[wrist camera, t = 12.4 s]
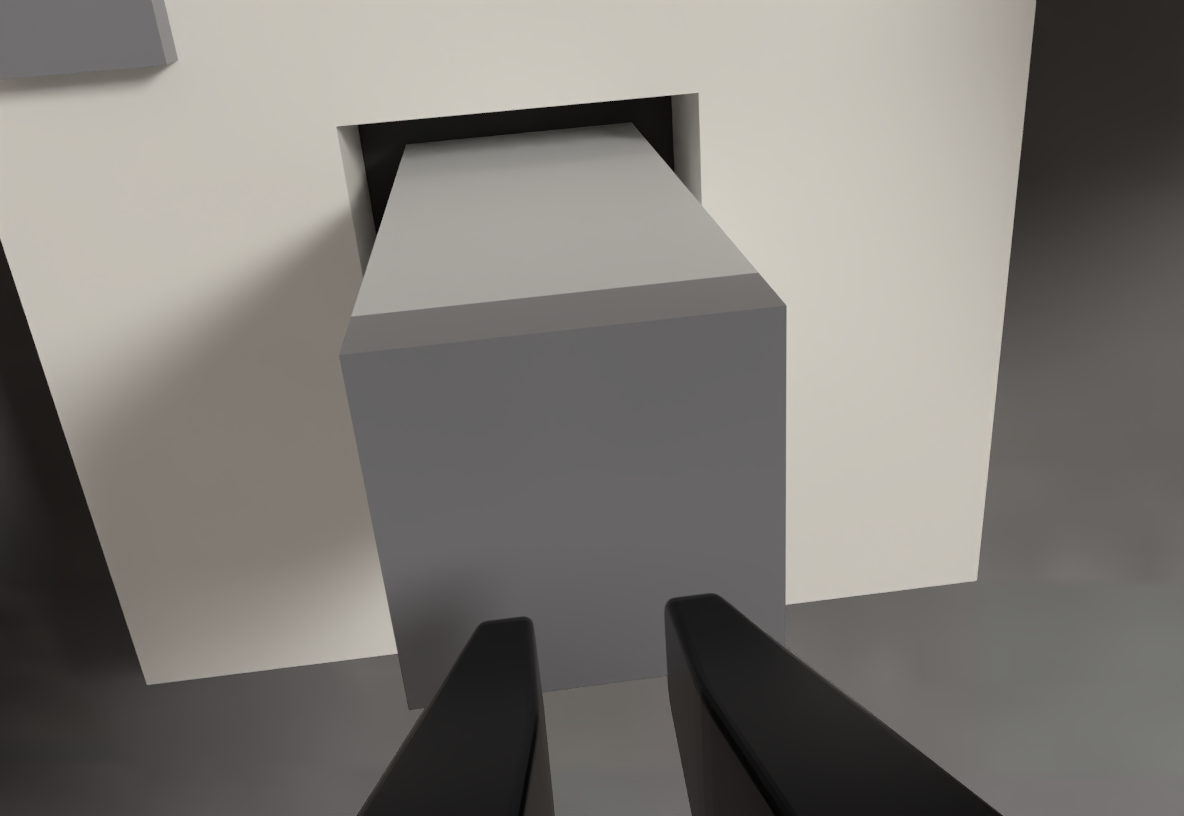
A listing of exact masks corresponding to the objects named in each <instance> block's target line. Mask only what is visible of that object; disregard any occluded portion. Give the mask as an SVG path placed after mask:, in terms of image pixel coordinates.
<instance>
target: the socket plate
mask: <svg viewBox="0 0 1184 816" xmlns="http://www.w3.org/2000/svg"><path fill="white" fill-rule="evenodd" d="M1035 8H1036V0H0V239H1V242H2V245H3V248H4V251H5V254H6V258H7V261H8V264H9V267H10V270H11V273H12V276H13V279H14V282H15V285H16V288H17V291H18V294H19V297H20V300H21V303H22V306H23V309H24V312H25V315H26V318H27V321H28V324H29V328H30V331H31V334H32V337H33V340H34V343H35V346H36V349H37V352H38V355H39V358H40V361H41V364H42V367H43V370H44V373H45V376H46V379H47V382H48V385H49V388H50V391H51V395H52V398H53V401H54V404H55V407H56V410H57V413H58V416H59V419H60V422H61V425H62V428H63V431H64V434H65V437H66V440H67V443H68V446H69V449H70V452H71V455H72V458H73V461H74V465H75V468H76V471H77V474H78V477H79V480H80V483H81V486H82V489H83V492H84V495H85V498H86V501H87V504H88V507H89V510H90V513H91V516H92V519H93V522H94V525H95V528H96V532H97V535H98V538H99V541H100V544H101V547H102V550H103V553H104V556H105V559H106V562H107V565H108V568H109V571H110V574H111V577H112V580H113V583H114V586H115V589H116V592H117V595H118V598H119V602H120V605H121V608H122V611H123V614H124V617H125V620H126V623H127V626H128V629H129V632H130V635H131V638H132V641H133V644H134V647H135V650H136V653H137V656H138V659H139V662H140V665H141V669H142V672H143V675H144V678H145V681H146V684H147V685H151V684H159V683H167V682H175V681H183V680H191V679H199V678H207V677H215V676H223V675H231V674H239V673H247V672H255V671H263V670H270V669H278V668H286V667H294V666H302V665H310V664H318V663H326V662H334V661H342V660H350V659H358V658H366V657H374V656H382V655H390V654H398V652H397V647H396V642H395V637H394V632H393V627H392V622H391V617H390V612H389V607H388V602H387V597H386V591H385V586H384V581H383V576H382V571H381V566H380V561H379V556H378V551H377V546H376V541H375V536H374V531H373V526H372V520H371V515H370V510H369V505H368V500H367V495H366V490H365V485H364V480H363V475H362V470H361V465H360V460H359V455H358V449H357V444H356V439H355V434H354V429H353V424H352V419H351V414H350V409H349V404H348V399H347V394H346V389H345V384H344V378H343V373H342V368H341V363H340V358H339V353H340V350H341V347H342V344H343V341H344V338H345V334H346V331H347V328H348V325H349V322H350V319H351V316H352V312H353V309H354V306H355V303H356V300H357V297H358V294H359V290H360V287H361V284H362V281H363V278H364V275H365V272H366V269H367V265H368V262H369V259H370V256H371V253H372V250H373V247H374V243H375V240H376V231H375V225H374V219H373V213H372V207H371V201H370V195H369V189H368V183H367V177H366V171H365V166H364V160H363V154H362V148H361V142H360V136H359V130H358V124H369V123H380V122H391V121H401V120H412V119H423V118H433V117H444V116H455V115H466V114H476V113H487V112H498V111H509V110H519V109H530V108H541V107H551V106H562V105H573V104H584V103H594V102H605V101H616V100H626V99H637V98H648V97H659V96H669V95H671V102H672V127H673V152H674V173H675V174H676V176H677V177H678V178H679V179H680V180H681V181H682V183H683V184H684V185H685V186H686V187H687V189H688V190H689V191H690V192H691V193H692V194H693V196H694V197H695V198H696V199H697V200H698V202H699V203H700V204H701V205H702V206H703V207H704V209H705V210H706V211H707V212H708V213H709V215H710V216H711V217H712V218H713V219H714V220H715V222H716V223H717V224H718V225H719V226H720V228H721V229H722V230H723V231H724V232H725V233H726V235H727V236H728V237H729V238H730V239H731V241H732V242H733V243H734V244H735V245H736V246H737V248H738V249H739V250H740V251H741V252H742V254H743V255H744V256H745V257H746V258H747V259H748V261H749V262H750V263H751V264H752V265H753V267H754V268H755V269H756V270H757V271H758V272H759V274H760V275H761V276H762V277H763V278H764V280H765V281H766V282H767V283H768V284H769V286H770V287H771V288H772V289H773V290H774V291H775V293H776V294H777V295H778V296H779V297H780V299H781V300H782V301H783V302H784V303H785V304H786V306H787V323H786V605H787V604H795V603H803V602H811V601H819V600H827V599H835V598H843V597H851V596H859V595H867V594H875V593H883V592H891V591H899V590H907V589H914V588H922V587H930V586H938V585H946V584H954V583H962V582H970V581H977V574H978V564H979V554H980V544H981V535H982V525H983V515H984V505H985V496H986V486H987V476H988V466H989V457H990V447H991V437H992V427H993V418H994V408H995V398H996V388H997V379H998V369H999V359H1000V349H1001V340H1002V330H1003V320H1004V310H1005V301H1006V291H1007V281H1008V271H1009V262H1010V252H1011V242H1012V232H1013V223H1014V213H1015V203H1016V194H1017V184H1018V174H1019V164H1020V155H1021V145H1022V135H1023V125H1024V116H1025V106H1026V96H1027V86H1028V77H1029V67H1030V57H1031V47H1032V38H1033V28H1034V18H1035Z"/></svg>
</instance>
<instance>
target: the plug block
mask: <svg viewBox="0 0 1184 816" xmlns="http://www.w3.org/2000/svg"><path fill="white" fill-rule="evenodd" d="M786 323H787V306H786V304H785V303H784V302H783V301H782V300H781V299H780V297H779V296H778V295H777V294H776V293H775V291H774V290H773V289H772V288H771V287H770V286H769V284H768V283H767V282H766V281H765V280H764V278H763V277H762V276H761V275H760V274H759V272H758V271H757V270H756V269H755V268H754V267H753V265H752V264H751V263H750V262H749V261H748V259H747V258H746V257H745V256H744V255H743V254H742V252H741V251H740V250H739V249H738V248H737V246H736V245H735V244H734V243H733V242H732V241H731V239H730V238H729V237H728V236H727V235H726V233H725V232H724V231H723V230H722V229H721V228H720V226H719V225H718V224H717V223H716V222H715V220H714V219H713V218H712V217H711V216H710V215H709V213H708V212H707V211H706V210H705V209H704V207H703V206H702V205H701V204H700V203H699V202H698V200H697V199H696V198H695V197H694V196H693V194H692V193H691V192H690V191H689V190H688V189H687V187H686V186H685V185H684V184H683V183H682V181H681V180H680V179H679V178H678V177H677V176H676V174H675V173H674V172H673V171H672V170H671V168H670V167H669V166H668V165H667V164H666V163H665V161H664V160H663V159H662V158H661V157H660V155H659V154H658V153H657V152H656V151H655V150H654V148H653V147H652V146H651V145H650V144H649V142H648V141H647V140H646V139H645V138H644V136H643V135H642V134H641V133H640V132H639V131H638V129H637V128H636V127H635V126H634V125H633V123H632V122H629V123H619V124H609V125H598V126H588V127H578V128H568V129H558V130H547V131H537V132H527V133H517V134H507V135H496V136H486V137H476V138H466V139H456V140H445V141H435V142H425V143H415V144H406V146H405V149H404V153H403V156H402V159H401V162H400V165H399V168H398V171H397V174H396V178H395V181H394V184H393V187H392V190H391V193H390V196H389V200H388V203H387V206H386V209H385V212H384V215H383V218H382V221H381V225H380V228H379V231H378V234H377V237H376V240H375V243H374V247H373V250H372V253H371V256H370V259H369V262H368V265H367V269H366V272H365V275H364V278H363V281H362V284H361V287H360V290H359V294H358V297H357V300H356V303H355V306H354V309H353V312H352V316H351V319H350V322H349V325H348V328H347V331H346V334H345V338H344V341H343V344H342V347H341V350H340V353H339V358H340V363H341V368H342V373H343V378H344V384H345V389H346V394H347V399H348V404H349V409H350V414H351V419H352V424H353V429H354V434H355V439H356V444H357V449H358V455H359V460H360V465H361V470H362V475H363V480H364V485H365V490H366V495H367V500H368V505H369V510H370V515H371V520H372V526H373V531H374V536H375V541H376V546H377V551H378V556H379V561H380V566H381V571H382V576H383V581H384V586H385V591H386V597H387V602H388V607H389V612H390V617H391V622H392V627H393V632H394V637H395V642H396V647H397V652H398V657H399V662H400V667H401V673H402V678H403V683H404V688H405V693H406V698H407V703H408V708H409V710H413V709H421V708H426V706H427V704H428V703H429V701H430V700H431V698H432V696H433V695H434V693H435V692H436V690H437V689H438V687H439V685H440V684H441V682H442V681H443V679H444V678H445V676H446V674H447V673H448V671H449V670H450V668H451V667H452V665H453V663H454V662H455V660H456V659H457V657H458V656H459V654H460V652H461V651H462V649H463V648H464V646H465V644H466V643H467V641H468V640H469V638H470V637H471V635H472V633H473V632H474V630H475V629H476V627H477V626H478V625H479V624H480V623H482V622H484V621H488V620H496V619H505V618H513V617H521V616H526V617H528V618H530V619H531V620H532V621H533V624H534V630H535V638H536V646H537V655H538V663H539V671H540V680H541V688H542V692H549V691H557V690H564V689H572V688H579V687H587V686H594V685H602V684H610V683H617V682H625V681H632V680H640V679H647V678H655V677H662V676H667V658H666V639H665V620H664V610H665V605H666V603H667V601H668V600H669V599H670V598H674V597H682V596H690V595H698V594H705V593H715V594H717V595H720V596H721V597H723V598H724V599H725V600H726V601H728V602H729V603H730V604H732V605H733V606H734V607H735V608H737V609H738V610H739V611H741V612H742V613H743V614H744V615H746V616H747V617H748V618H750V619H751V620H752V621H753V622H755V623H756V624H757V625H759V626H760V627H761V628H762V629H764V630H765V631H766V632H768V633H769V634H770V635H771V636H773V637H774V638H775V639H777V640H778V641H779V642H780V643H782V644H783V645H784V646H785V615H786Z"/></svg>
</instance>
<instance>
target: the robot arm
mask: <svg viewBox="0 0 1184 816" xmlns="http://www.w3.org/2000/svg"><path fill="white" fill-rule="evenodd" d="M664 620H665V639H666V658H667V677H668V690H669V698H670V705H671V711H672V716H673V721H674V727H675V732H676V737H677V742H678V747H679V752H680V757H681V762H682V767H683V772H684V778H685V783H686V788H687V793H688V798H689V803H690V808H691V813H692V816H1003V815H1001V814H1000V813H999V812H998V811H996V810H995V809H994V808H992V807H991V806H990V805H989V804H987V803H986V802H985V801H983V800H982V799H981V798H980V797H978V796H977V795H976V794H974V793H973V792H972V791H971V790H969V789H968V788H967V787H965V786H964V785H963V784H962V783H960V782H959V781H958V780H956V779H955V778H954V777H953V776H951V775H950V774H949V773H947V772H946V771H945V770H944V769H942V768H941V767H940V766H938V765H937V764H936V763H935V762H933V761H932V760H931V759H929V758H928V757H927V756H926V755H924V754H923V753H922V752H920V751H919V750H918V749H917V748H915V747H914V746H913V745H911V744H910V743H909V742H908V741H906V740H905V739H904V738H902V737H901V736H900V735H899V734H897V733H896V732H895V731H893V730H892V729H891V728H890V727H888V726H887V725H886V724H884V723H883V722H882V721H881V720H879V719H878V718H877V717H876V716H874V715H873V714H872V713H870V712H869V711H868V710H867V709H865V708H864V707H863V706H861V705H860V704H859V703H858V702H856V701H855V700H854V699H852V698H851V697H850V696H849V695H847V694H846V693H845V692H843V691H842V690H841V689H840V688H838V687H837V686H836V685H834V684H833V683H832V682H831V681H829V680H828V679H827V678H825V677H824V676H823V675H822V674H820V673H819V672H818V671H816V670H815V669H814V668H813V667H811V666H810V665H809V664H807V663H806V662H805V661H804V660H802V659H801V658H800V657H798V656H797V655H796V654H795V653H793V652H792V651H791V650H789V649H788V648H787V647H786V646H784V645H783V644H782V643H780V642H779V641H778V640H777V639H775V638H774V637H773V636H771V635H770V634H769V633H768V632H766V631H765V630H764V629H762V628H761V627H760V626H759V625H757V624H756V623H755V622H753V621H752V620H751V619H750V618H748V617H747V616H746V615H744V614H743V613H742V612H741V611H739V610H738V609H737V608H735V607H734V606H733V605H732V604H730V603H729V602H728V601H726V600H725V599H724V598H723V597H721V596H720V595H717V594H715V593H705V594H698V595H690V596H682V597H674V598H670V599H669V600H668V601H667V603H666V605H665V610H664ZM357 816H555V813H554V803H553V793H552V783H551V773H550V763H549V753H548V743H547V733H546V723H545V714H544V705H543V696H542V688H541V680H540V671H539V663H538V655H537V646H536V638H535V630H534V624H533V621H532V620H531V619H530V618H528V617H526V616H521V617H513V618H505V619H496V620H488V621H484V622H482V623H480V624H479V625H478V626H477V627H476V629H475V630H474V632H473V633H472V635H471V637H470V638H469V640H468V641H467V643H466V644H465V646H464V648H463V649H462V651H461V652H460V654H459V656H458V657H457V659H456V660H455V662H454V663H453V665H452V667H451V668H450V670H449V671H448V673H447V674H446V676H445V678H444V679H443V681H442V682H441V684H440V685H439V687H438V689H437V690H436V692H435V693H434V695H433V696H432V698H431V700H430V701H429V703H428V704H427V706H426V708H425V709H424V711H423V712H422V714H421V715H420V717H419V719H418V720H417V722H416V723H415V725H414V726H413V728H412V730H411V731H410V733H409V734H408V736H407V737H406V739H405V741H404V742H403V744H402V745H401V747H400V748H399V750H398V752H397V753H396V755H395V756H394V758H393V760H392V761H391V763H390V764H389V766H388V767H387V769H386V771H385V772H384V774H383V775H382V777H381V778H380V780H379V782H378V783H377V785H376V786H375V788H374V789H373V791H372V793H371V794H370V796H369V797H368V799H367V800H366V802H365V804H364V805H363V807H362V808H361V810H360V812H359V813H358V815H357Z"/></svg>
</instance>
